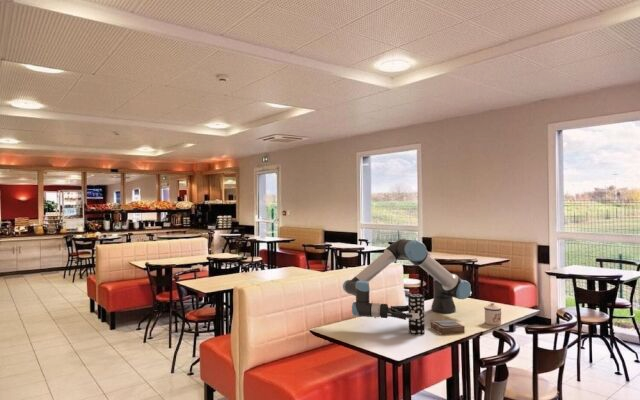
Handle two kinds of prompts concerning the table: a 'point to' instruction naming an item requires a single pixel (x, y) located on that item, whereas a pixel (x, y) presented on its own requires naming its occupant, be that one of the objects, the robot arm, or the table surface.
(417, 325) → the white-spotted black cylinder
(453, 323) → the plinth
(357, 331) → the table surface
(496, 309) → the teacup with lid
